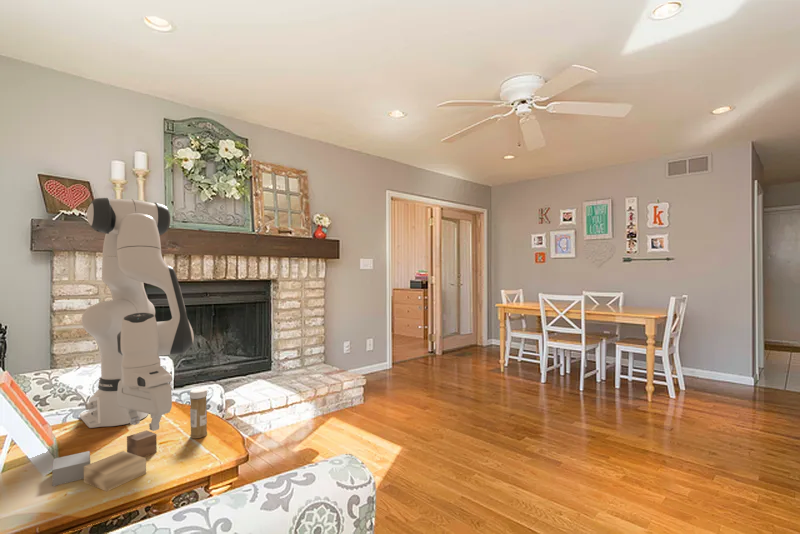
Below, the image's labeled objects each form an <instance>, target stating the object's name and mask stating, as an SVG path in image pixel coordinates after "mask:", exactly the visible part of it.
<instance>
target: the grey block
mask: <svg viewBox="0 0 800 534" xmlns="http://www.w3.org/2000/svg"><path fill="white" fill-rule="evenodd" d="M89 464H91V452H90V450H87V451H82V452H79V453H74V454H70V455H69V454H68V455H64V456H60V457H55V458H53V463H52V471H51V472H52V473H51V474H52V476H51V477H52V487H55V486H60V485H64V484H67V483H68V484H69V483H71V482H72V483H73V482H76V481H80V480H84V466H86V465H89Z"/></svg>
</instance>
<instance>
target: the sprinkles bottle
mask: <svg viewBox="0 0 800 534" xmlns="http://www.w3.org/2000/svg"><path fill="white" fill-rule="evenodd" d="M207 396H208V390H207V389H206V388H195V389H191V390H190V391H189V400H190V411H189V414H190V415H189V416H190V419H189V421H190V438H192V439H200V438H204V437H206V436H207V435H208V431H207V430H208V429H207V427H208V426H207V424H208V418H207V417H208V416H207V415H208V414H207V413H208V411H207Z"/></svg>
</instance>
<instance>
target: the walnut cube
mask: <svg viewBox="0 0 800 534" xmlns="http://www.w3.org/2000/svg"><path fill="white" fill-rule="evenodd" d="M157 444H158V443H157V433H154V432H152V431H151V430H142V431H140V432H137V433H134V434H130V435H128V436H126V452H128V453H131V454H134V455H137V456H141V457H144V458H146V457H148V456H150V455H153V454H156V453H157V447H158V446H157Z"/></svg>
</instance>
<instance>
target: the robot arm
mask: <svg viewBox="0 0 800 534" xmlns="http://www.w3.org/2000/svg"><path fill="white" fill-rule="evenodd" d="M86 211H87V212H86V219H87V222H88V224H89V227H90V228H91V229H92V230H93V231H95V232H98V233H102V234H104V235H105V236H104V239H103V244H102V245H103V246H102V256H101V259H102V260H101V261H102V262H101V263H102V265H101V279H102V282H103V284H105V285H106V286H107V287H108V289H109V290H110V294H111V298H112V299H111V300H105V301H100V302H97V303H95V304H93V305H91V306H89V307H87V308H86V309H85V310H84V312H83V314H82V316H81V325H82V328H83V329H84V331H85V332H86V333H87V334H89V335H90V336H91V337H92V338H93V339H94V341H95V343H96V345H97V348H98V350H99V355H100V375H101V376H100V377H99V380H98V386H97V390H96V391H95V393H93V395H91V396H90V397H89V399H88V402H85V405H84V407H85V410H86V411H82V412H81V413H80V414H79V419H80V420H82V421H83V422H84V424H85V426H87V427H88V428H89V429H93V428H100V427H116V426H122V425H123V426H124V425H128V424H130V425H132V426H135V425H138V424H139V425H140V422H141V421H140V420H142V419H145V418H146V417H147V416H148V415H150V418H151V421H150V423H149V424H148V427H149V431H151V432H152V431H153V432H155V431H157V430H159V429H160V421H161V420H162V417H163V416H164V415H166V414H168V413H170V412H171V410H172V406H173V397H172V386H171V384H170V383H171V382H172V380H173V379H172V378H173V377H172V373H170V372H169V371H167V370H166V369H165V368H164V367H163V366H162V364H161V358H160V356H167V355H183V354H185V353H186V352H187V351H189V350H190V349H191V348H192V347H193V345H194V339H195V337H194V336H195V335H194V330H193V328H192V325H191V323H190V320H189V319H188V314H187V310H186V306H185V302H184V298H183V294H182V290H181V286H180V284H179V279H178V276H177V273H176V271H175V269H174V267H172V266H170V265H168V264H167V263H166V261H165V259H164V258H163V254H162V245H161V244H162V243H161V237H160V236H162V235H164V234H165V233H167V232H168V231H169V229H170V226H171V223H172V221H171V220H172V219H171V212H170V209H169V208H168V207H167V206H166V205H164V204H161V203H158V202H150V201H143V200H138V199H133V198H132V199H127V198H123V199H121V198H108V197H98V198H94V199H93V200H92V201H91V202H90V204H89V206H88V207H87V210H86ZM144 284H147V285H151V286H154V287H157V288H159V289H161V290H162V291H163V292H164V293H165V294H166V298H167V302H168V306H169V310H170V314H171V319H169V320H164V321H163V320H162V321H157V318H156V308H155V305H154V304H153V302H152V301H150V299H149V298H148V295H147V292H146V289H145V285H144Z"/></svg>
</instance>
